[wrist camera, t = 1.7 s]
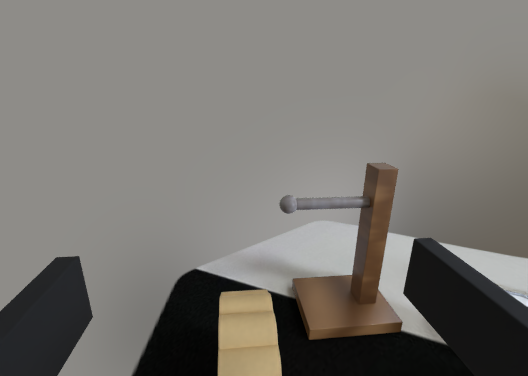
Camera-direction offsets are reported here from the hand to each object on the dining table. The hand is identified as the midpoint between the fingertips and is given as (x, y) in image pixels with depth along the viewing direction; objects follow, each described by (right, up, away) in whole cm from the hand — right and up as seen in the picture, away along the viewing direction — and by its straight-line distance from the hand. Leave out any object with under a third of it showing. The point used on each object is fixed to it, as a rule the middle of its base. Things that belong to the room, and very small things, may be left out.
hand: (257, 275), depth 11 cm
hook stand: (+10, -13, +29) cm, 33 cm away
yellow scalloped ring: (-1, -18, +16) cm, 24 cm away
